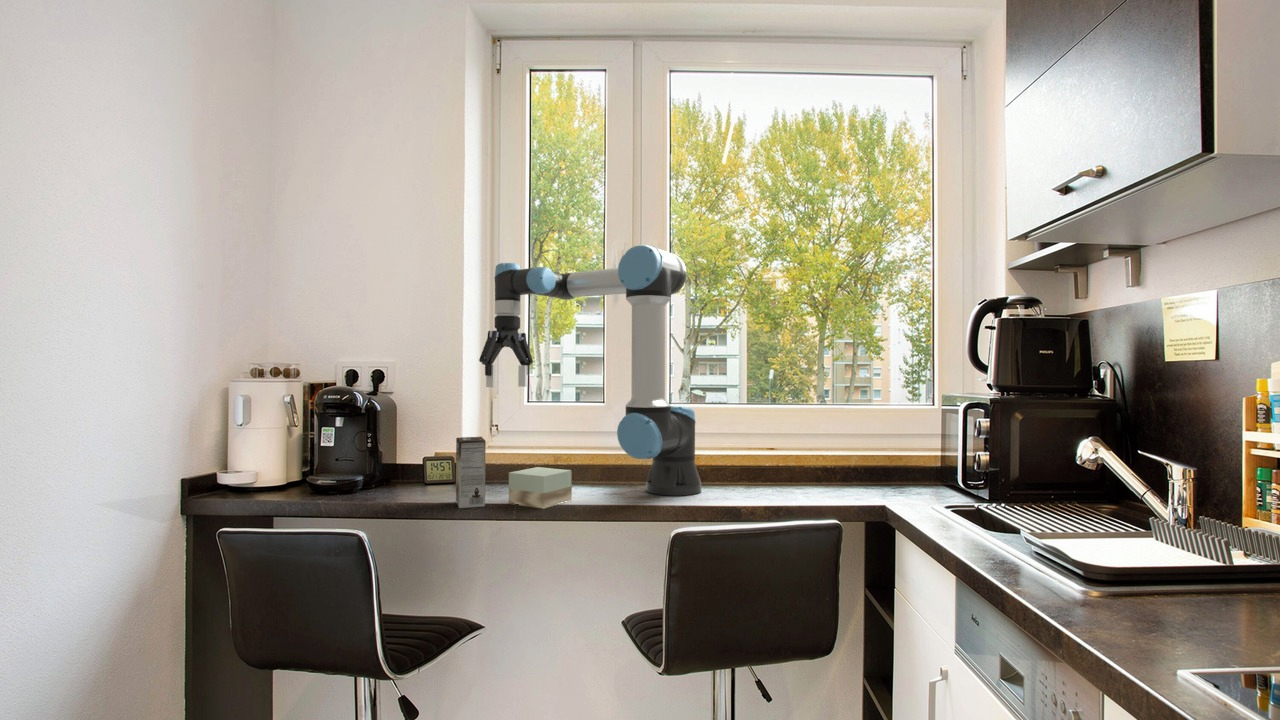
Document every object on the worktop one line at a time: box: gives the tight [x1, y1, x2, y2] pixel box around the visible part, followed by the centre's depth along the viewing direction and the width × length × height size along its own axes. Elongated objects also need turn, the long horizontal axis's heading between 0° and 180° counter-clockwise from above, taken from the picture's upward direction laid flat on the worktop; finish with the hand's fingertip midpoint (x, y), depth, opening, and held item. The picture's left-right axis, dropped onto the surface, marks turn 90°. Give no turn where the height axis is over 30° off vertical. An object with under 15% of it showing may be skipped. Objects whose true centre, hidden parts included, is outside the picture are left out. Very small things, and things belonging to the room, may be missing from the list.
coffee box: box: [455, 436, 487, 509], centre depth 155 cm, size 9×6×16 cm
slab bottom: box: [508, 485, 573, 509], centre depth 158 cm, size 11×11×4 cm
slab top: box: [508, 466, 572, 493], centre depth 158 cm, size 11×11×4 cm
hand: (506, 387), depth 188 cm, fingers open, 13 cm apart
